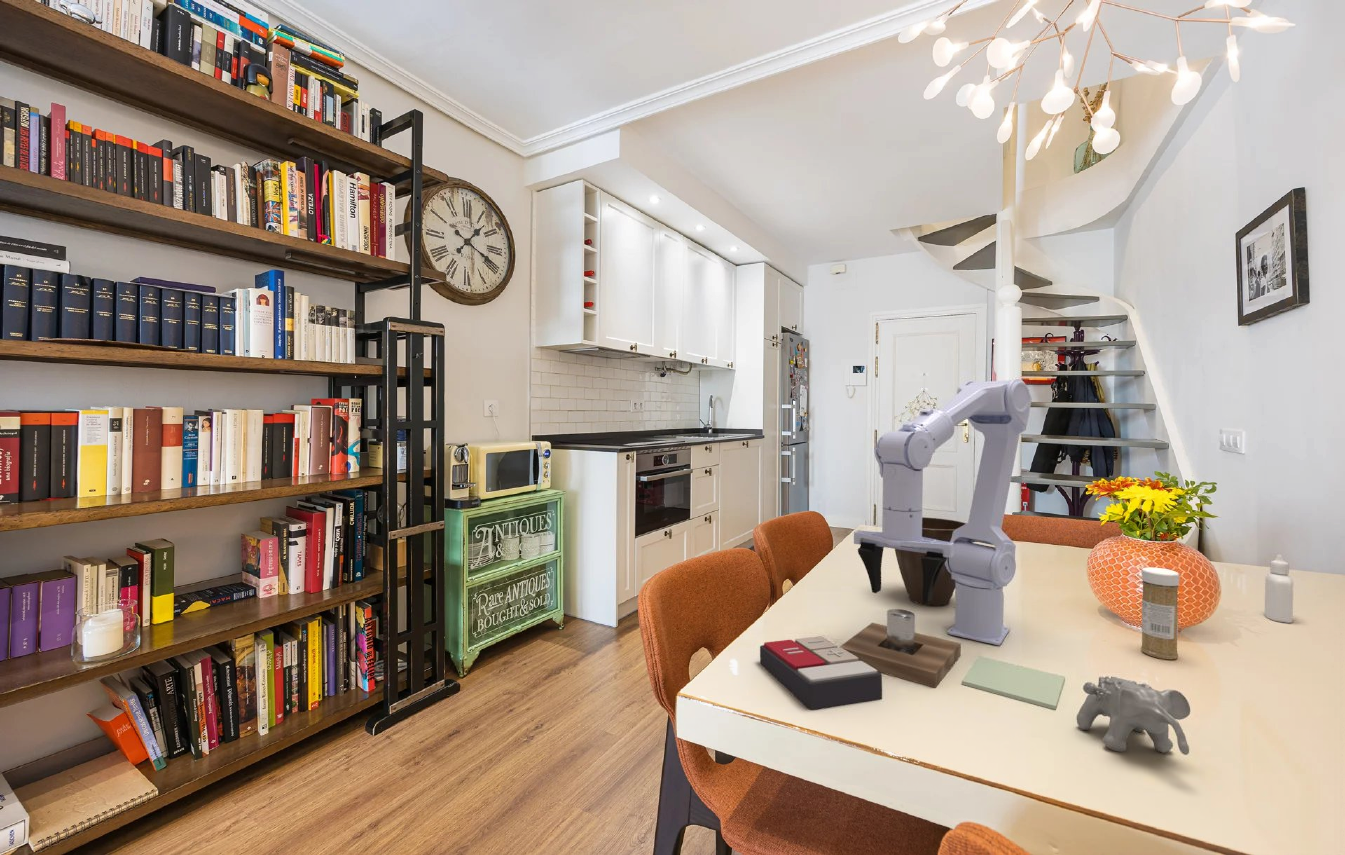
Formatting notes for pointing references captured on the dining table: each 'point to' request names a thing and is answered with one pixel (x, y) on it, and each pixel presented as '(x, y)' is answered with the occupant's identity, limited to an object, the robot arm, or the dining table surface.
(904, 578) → the plant pot
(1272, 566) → the eye dropper bottle
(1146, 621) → the spice jar
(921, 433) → the robot arm
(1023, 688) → the sage pad
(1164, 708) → the elephant statuette
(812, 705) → the calculator
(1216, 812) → the dining table surface
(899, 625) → the metal peg
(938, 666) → the walnut holder
